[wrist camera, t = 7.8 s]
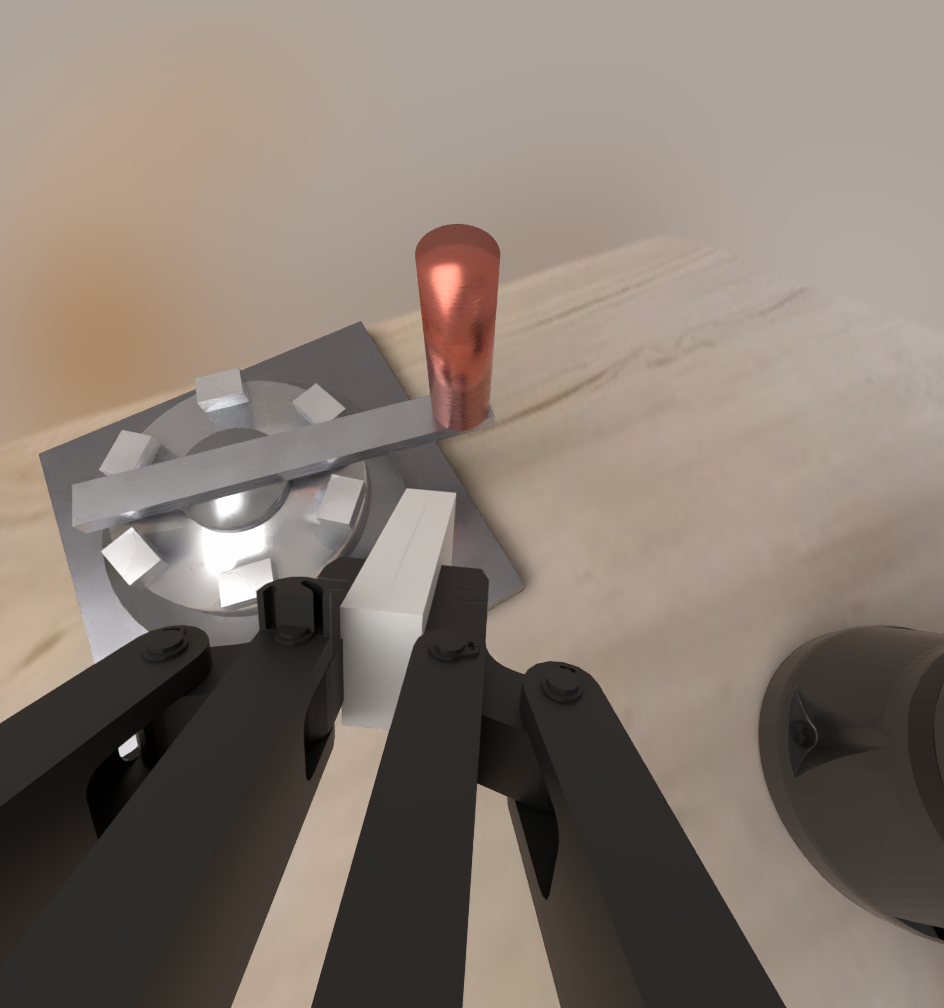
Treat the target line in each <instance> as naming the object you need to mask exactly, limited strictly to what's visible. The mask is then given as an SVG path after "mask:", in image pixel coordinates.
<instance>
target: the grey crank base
mask: <svg viewBox="0 0 944 1008" xmlns="http://www.w3.org/2000/svg"><path fill="white" fill-rule="evenodd" d="M241 372H242V373H243V375H244V377H245V378H246V381H272V382H279V383H285V384H289V385H293V386H297V387H300V388H302V389H305V390H308V389H309V388H311V387H312V386H313V385H314V384H316V383H317V384H318V385H319V386H320V387H321V388H322V389H324V390H325V391H326V392H327V393H328V394H329V395H331V396H332V397H333V398H334V399H335V400H336V401H337V402H339V403H340V404H341V405H342V406H343V407H344V408H346V411H347V413H348V416H349V415H353V414H357V413H361V412H365V411H369V410H373V409H377V408H381V407H385V406H389V405H393V404H397V403H401V402H405V401H409V400H410V399H409V398H408V396H407V395H406V393H405V391H404V390H403V388H402V387H401V385H400V383H399V382H398V380H397V378H396V377H395V375H394V374H393V372H392V370H391V369H390V367H389V366H388V364H387V362H386V361H385V359H384V358H383V356H382V354H381V353H380V351H379V349H378V348H377V346H376V345H375V343H374V341H373V340H372V338H371V337H370V335H369V333H368V332H367V330H366V329H365V327H364V325H363V324H362V322H361V321H360V322H358V323H355V324H353V325H350V326H348V327H346V328H343V329H341V330H338V331H336V332H333V333H331V334H329V335H326V336H324V337H321V338H319V339H316V340H314V341H312V342H309V343H307V344H304V345H302V346H299V347H297V348H295V349H292V350H290V351H287V352H285V353H282V354H280V355H278V356H275V357H273V358H270V359H268V360H265V361H263V362H261V363H258V364H256V365H253V366H251V367H249V368H246V369H244V370H241ZM193 395H196V389H195V390H193V391H190V392H188V393H185V394H183V395H181V396H178V397H176V398H173V399H171V400H168V401H166V402H164V403H161V404H159V405H156V406H154V407H152V408H149V409H147V410H144V411H142V412H139V413H137V414H135V415H132V416H130V417H127V418H125V419H122V420H120V421H118V422H115V423H113V424H110V425H108V426H105V427H103V428H101V429H98V430H96V431H93V432H91V433H88V434H86V435H84V436H81V437H79V438H76V439H74V440H71V441H69V442H67V443H64V444H62V445H59V446H57V447H55V448H52V449H50V450H47V451H45V452H42V453H40V454H39V457H40V461H41V465H42V468H43V472H44V476H45V480H46V483H47V487H48V491H49V495H50V498H51V502H52V506H53V510H54V513H55V517H56V521H57V524H58V528H59V532H60V536H61V539H62V543H63V547H64V551H65V554H66V558H67V562H68V566H69V569H70V573H71V577H72V581H73V584H74V588H75V592H76V596H77V599H78V603H79V607H80V611H81V614H82V618H83V622H84V625H85V629H86V633H87V637H88V640H89V644H90V648H91V652H92V655H93V659H94V663H97V662H99V661H100V660H102V659H103V658H105V657H107V656H108V655H110V654H111V653H113V652H115V651H116V650H118V649H119V648H121V647H122V646H124V645H126V644H127V643H129V642H130V641H132V640H134V639H135V638H137V637H139V636H141V635H143V634H145V633H147V632H149V631H152V630H156V629H159V628H163V627H166V626H175V625H187V626H194V627H198V628H199V629H201V630H203V631H205V632H206V634H207V636H208V638H209V643H210V647H214V646H224V645H233V644H241V643H247V642H251V640H252V639H253V638H254V637H255V635H256V634H257V633H258V631H259V618H258V615H255V616H246V617H220V616H214V615H208V614H204V613H201V612H198V611H194V610H191V609H189V608H186V607H184V606H182V605H179V604H177V603H174V602H172V601H170V600H167V599H165V598H163V597H161V596H159V595H157V594H155V593H153V592H152V591H150V590H149V589H147V588H146V587H145V588H144V589H142V590H139V589H137V588H134V587H132V586H129V584H128V583H127V582H126V581H125V580H124V578H123V577H122V576H121V575H120V574H119V572H118V571H117V570H116V569H115V568H114V566H113V565H112V564H111V563H110V562H109V561H108V559H107V558H106V557H105V556H104V555H103V553H102V552H101V551H102V550H103V549H104V548H106V547H107V546H108V545H110V544H111V543H112V539H111V535H110V531H109V528H105V529H101V530H97V531H93V532H90V533H84V532H82V531H80V530H78V529H76V528H74V527H72V485H73V484H77V483H81V482H85V481H89V480H93V479H97V478H101V477H105V476H107V475H105V474H104V473H102V472H101V471H100V470H99V469H100V467H101V465H102V463H103V462H104V460H105V458H106V457H107V455H108V453H109V451H110V450H111V448H112V446H113V445H114V443H115V441H116V439H117V438H118V436H119V434H120V433H121V431H122V430H125V431H130V432H135V433H140V434H142V432H144V431H145V430H146V429H147V428H148V427H149V426H150V425H151V424H152V423H153V422H154V421H155V420H156V419H157V418H159V417H160V416H161V415H162V414H164V413H165V412H166V411H168V410H169V409H171V408H172V407H174V406H175V405H177V404H178V403H180V402H182V401H184V400H186V399H188V398H190V397H192V396H193ZM365 461H366V464H367V467H368V470H369V475H370V480H371V505H370V512H369V516H368V520H367V524H366V527H365V529H364V532H363V534H362V537H361V539H360V541H359V543H358V544H357V546H356V548H355V550H354V551H353V553H352V554H351V556H350V557H351V558H361V559H367V558H368V556H369V554H370V553H371V551H372V549H373V547H374V546H375V544H376V542H377V540H378V538H379V537H380V535H381V533H382V531H383V529H384V528H385V526H386V524H387V522H388V521H389V519H390V517H391V515H392V513H393V512H394V510H395V508H396V506H397V505H398V503H399V501H400V499H401V497H402V496H403V494H404V492H405V490H406V489H407V488H409V489H419V490H430V491H441V492H451V493H456V504H455V518H454V533H453V547H452V561H451V566H458V567H468V568H478V569H482V570H483V572H484V573H485V575H486V576H487V577H488V579H489V592H488V607H487V610H489V609H491V608H493V607H494V606H496V605H498V604H500V603H501V602H503V601H505V600H507V599H508V598H510V597H512V596H514V595H515V594H517V593H519V592H521V591H522V590H523V587H524V583H523V581H522V580H521V578H520V577H519V575H518V573H517V572H516V570H515V569H514V567H513V565H512V564H511V562H510V561H509V559H508V557H507V556H506V554H505V552H504V551H503V549H502V548H501V546H500V544H499V543H498V541H497V540H496V538H495V536H494V535H493V533H492V532H491V530H490V528H489V527H488V525H487V523H486V522H485V520H484V519H483V517H482V515H481V514H480V512H479V511H478V509H477V507H476V506H475V504H474V503H473V501H472V499H471V498H470V496H469V494H468V493H467V491H466V490H465V488H464V486H463V485H462V483H461V482H460V480H459V478H458V477H457V475H456V474H455V472H454V470H453V469H452V467H451V465H450V464H449V462H448V461H447V459H446V457H445V456H444V454H443V453H442V451H441V449H440V448H439V446H438V445H437V443H436V442H432V443H428V444H424V445H420V446H417V447H413V448H409V449H405V450H401V451H398V452H394V453H390V454H386V455H382V456H379V457H375V458H371V459H367V460H365ZM137 746H138V745H137V740H136V735H134V736H133V737H131V738H130V739H129V740H128V741H126V742H125V743H124V744H123V745H122V746H120V747H119V748H118V749H119V754H120V756H121V757H123V756H125V755H126V754H128V753H130V752H131V751H133V750H134V749H135V748H136V747H137Z"/></svg>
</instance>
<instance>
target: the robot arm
mask: <svg viewBox="0 0 944 1008" xmlns="http://www.w3.org/2000/svg"><path fill="white" fill-rule="evenodd" d="M455 504H456V493H451V492H441V491H430V490H419V489H409V488H407V489H406V490H405V492H404V494H403V496H402V497H401V499H400V501H399V503H398V505H397V506H396V508H395V510H394V512H393V513H392V515H391V517H390V519H389V521H388V522H387V524H386V526H385V528H384V529H383V531H382V533H381V535H380V537H379V538H378V540H377V542H376V544H375V546H374V547H373V549H372V551H371V553H370V554H369V556H368V558H367V559H361V558H351V557H339V558H337V559H336V560H334V561H332V562H330V563H329V564H327V565H326V566H325V567H324V568H323V570H322V571H321V573H320V574H319V575H318V578H317V579H315V578H310V577H287V578H282V579H277V580H274V581H272V582H269V583H267V584H265V585H263V586H262V587H261V588H259V589H258V590H257V591H256V595H257V607H258V618H259V631H258V633H257V634H256V635H255V637H254V638H253V639H252V640H251V642H247V643H241V644H233V645H224V646H214V647H210V643H209V638H208V636H207V634H206V632H205V631H203V630H201V629H199V628H198V627H194V626H187V625H175V626H166V627H163V628H159V629H156V630H152V631H149V632H147V633H145V634H143V635H141V636H139V637H137V638H135V639H134V640H132V641H130V642H129V643H127V644H126V645H124V646H122V647H121V648H119V649H118V650H116V651H115V652H113V653H111V654H110V655H108V656H107V657H105V658H103V659H102V660H100V661H99V662H97V663H95V664H94V665H92V666H91V667H89V668H88V669H86V670H84V671H83V672H81V673H80V674H78V675H76V676H75V677H73V678H72V679H70V680H68V681H67V682H65V683H64V684H62V685H60V686H59V687H57V688H56V689H54V690H53V691H51V692H49V693H48V694H46V695H45V696H43V697H41V698H40V699H38V700H37V701H35V702H33V703H32V704H30V705H29V706H27V707H25V708H24V709H22V710H21V711H19V712H18V713H16V714H14V715H13V716H11V717H10V718H8V719H6V720H5V721H3V722H2V723H0V1008H231V1006H232V1003H233V1001H234V998H235V996H236V993H237V991H238V988H239V985H240V983H241V980H242V978H243V975H244V973H245V970H246V968H247V965H248V963H249V960H250V957H251V955H252V952H253V950H254V947H255V945H256V942H257V940H258V937H259V935H260V932H261V929H262V927H263V924H264V922H265V919H266V917H267V914H268V912H269V909H270V907H271V904H272V901H273V899H274V896H275V894H276V891H277V889H278V886H279V884H280V881H281V879H282V876H283V874H284V871H285V868H286V866H287V863H288V861H289V858H290V856H291V853H292V851H293V848H294V846H295V843H296V840H297V838H298V835H299V833H300V830H301V828H302V825H303V823H304V820H305V818H306V815H307V812H308V810H309V807H310V805H311V802H312V800H313V797H314V795H315V792H316V790H317V787H318V784H319V782H320V779H321V777H322V774H323V772H324V769H325V767H326V764H327V762H328V759H329V757H330V754H331V751H332V749H333V746H334V739H335V726H334V722H335V720H336V717H337V715H338V713H339V710H340V708H341V705H342V725H348V726H358V727H367V728H376V729H385V730H389V734H388V737H387V741H386V744H385V748H384V751H383V755H382V758H381V762H380V765H379V769H378V773H377V776H376V780H375V783H374V787H373V790H372V794H371V797H370V801H369V804H368V808H367V812H366V815H365V819H364V822H363V826H362V829H361V833H360V836H359V840H358V843H357V847H356V850H355V854H354V858H353V861H352V865H351V868H350V872H349V875H348V879H347V882H346V886H345V889H344V893H343V897H342V900H341V904H340V907H339V911H338V914H337V918H336V921H335V925H334V928H333V932H332V935H331V939H330V943H329V946H328V950H327V953H326V957H325V960H324V964H323V967H322V971H321V974H320V978H319V982H318V985H317V989H316V992H315V996H314V999H313V1003H312V1006H311V1008H462V1007H463V991H464V976H465V961H466V945H467V930H468V915H469V899H470V884H471V869H472V853H473V838H474V823H475V807H476V792H477V783H478V784H480V785H482V786H485V787H487V788H489V789H491V790H494V791H496V792H498V793H501V794H503V795H505V796H507V800H508V807H509V811H510V815H511V819H512V823H513V827H514V830H515V834H516V838H517V842H518V846H519V849H520V853H521V857H522V861H523V865H524V869H525V872H526V876H527V880H528V884H529V888H530V891H531V895H532V899H533V903H534V907H535V911H536V914H537V918H538V922H539V926H540V930H541V934H542V937H543V941H544V945H545V949H546V953H547V956H548V960H549V964H550V968H551V972H552V976H553V979H554V983H555V987H556V991H557V995H558V998H559V1002H560V1006H561V1008H786V1006H785V1005H784V1003H783V1001H782V999H781V998H780V996H779V994H778V992H777V991H776V989H775V987H774V986H773V984H772V982H771V980H770V979H769V977H768V975H767V974H766V972H765V970H764V968H763V967H762V965H761V963H760V961H759V960H758V958H757V956H756V955H755V953H754V951H753V949H752V948H751V946H750V944H749V943H748V941H747V939H746V937H745V936H744V934H743V932H742V930H741V929H740V927H739V925H738V924H737V922H736V920H735V918H734V917H733V915H732V913H731V911H730V910H729V908H728V906H727V905H726V903H725V901H724V899H723V898H722V896H721V894H720V893H719V891H718V889H717V887H716V886H715V884H714V882H713V880H712V879H711V877H710V875H709V874H708V872H707V870H706V868H705V867H704V865H703V863H702V862H701V860H700V858H699V856H698V855H697V853H696V851H695V849H694V848H693V846H692V844H691V843H690V841H689V839H688V837H687V836H686V834H685V832H684V830H683V829H682V827H681V825H680V824H679V822H678V820H677V818H676V817H675V815H674V813H673V812H672V810H671V808H670V806H669V805H668V803H667V801H666V799H665V798H664V796H663V794H662V793H661V791H660V789H659V787H658V786H657V784H656V782H655V781H654V779H653V777H652V775H651V774H650V772H649V770H648V768H647V767H646V765H645V763H644V762H643V760H642V758H641V756H640V755H639V753H638V751H637V749H636V748H635V746H634V744H633V743H632V741H631V739H630V737H629V736H628V734H627V732H626V731H625V729H624V727H623V725H622V724H621V722H620V720H619V718H618V717H617V715H616V713H615V712H614V710H613V708H612V706H611V705H610V703H609V701H608V700H607V698H606V696H605V694H604V693H603V691H602V689H601V687H600V686H599V684H598V683H597V682H596V681H595V680H594V678H593V677H592V676H591V675H590V674H588V673H587V672H585V671H584V670H582V669H580V668H579V667H576V666H573V665H570V664H567V663H564V662H552V661H549V662H544V663H539V664H536V665H534V666H533V667H531V668H530V669H528V670H527V672H526V674H522V673H519V672H516V671H513V670H511V669H509V668H506V667H504V666H503V665H501V664H500V663H498V662H497V661H495V660H494V659H493V657H492V656H491V655H490V654H489V652H488V650H487V648H486V643H485V639H486V623H487V607H488V592H489V579H488V577H487V576H486V575H485V573H484V572H483V570H482V569H478V568H468V567H458V566H451V561H452V547H453V533H454V518H455ZM134 735H136V740H137V745H138V746H137V747H136V748H135V749H134V750H133V751H131V752H130V753H128V754H126V755H125V756H123V757H121V756H120V754H119V749H118V748H119V747H120V746H122V745H123V744H124V743H125V742H126V741H128V740H129V739H130V738H131V737H133V736H134ZM759 744H760V755H761V761H762V767H763V771H764V775H765V779H766V782H767V786H768V789H769V792H770V795H771V797H772V800H773V802H774V805H775V807H776V809H777V812H778V814H779V816H780V818H781V820H782V822H783V824H784V825H785V827H786V829H787V831H788V832H789V834H790V836H791V837H792V839H793V840H794V842H795V843H796V845H797V846H798V847H799V849H800V850H801V852H802V853H803V854H804V856H805V857H806V858H807V859H808V861H809V862H810V863H811V864H812V865H813V867H814V868H815V869H816V870H817V871H818V872H819V873H820V874H821V875H822V876H823V877H824V878H825V879H826V880H827V881H828V882H829V883H830V884H831V885H832V886H833V887H835V888H836V889H837V890H838V891H839V892H840V893H842V894H843V895H844V896H846V897H847V898H848V899H850V900H851V901H852V902H854V903H855V904H857V905H858V906H860V907H861V908H863V909H864V910H866V911H868V912H870V913H871V914H873V915H875V916H877V917H879V918H881V919H883V920H885V921H887V922H890V923H892V924H894V925H896V926H898V927H900V928H903V929H905V930H907V931H909V932H911V933H913V934H916V935H918V936H921V937H923V938H926V939H929V940H932V941H935V942H938V943H942V944H944V634H938V633H931V632H924V631H917V630H913V629H909V628H904V627H896V626H864V627H856V628H851V629H847V630H843V631H839V632H835V633H831V634H827V635H824V636H821V637H818V638H816V639H813V640H811V641H809V642H807V643H806V644H804V645H802V646H801V647H799V648H798V649H797V650H795V651H794V652H793V653H792V654H791V655H790V656H789V657H787V659H786V660H785V661H784V662H783V663H782V664H781V666H780V667H779V668H778V670H777V671H776V673H775V674H774V676H773V678H772V680H771V682H770V684H769V686H768V689H767V691H766V694H765V697H764V701H763V705H762V710H761V716H760V726H759Z"/></svg>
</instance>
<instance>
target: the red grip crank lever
mask: <svg viewBox="0 0 944 1008" xmlns="http://www.w3.org/2000/svg"><path fill="white" fill-rule="evenodd" d="M415 258H416V267H417V277H418V286H419V294H420V305H421V314H422V323H423V332H424V341H425V351H426V360H427V369H428V378H429V387H430V395H429V396H425V397H421V398H417V399H413V400H409V401H405V402H401V403H397V404H393V405H389V406H385V407H381V408H377V409H373V410H369V411H365V412H361V413H357V414H353V415H349V416H348V413H347V411H346V408H344V407H343V406H342V405H341V404H340V403H339V402H337V401H336V400H335V399H334V398H333V397H332V396H331V395H329V394H328V393H327V392H326V391H325V390H324V389H322V388H321V387H320V386H319V385H318V384H317V383H316V384H314V385H313V386H312V387H311V388H309V389H308V390H305V389H302V388H300V387H297V386H293V385H289V384H285V383H279V382H272V381H246V378H245V377H244V375H243V373H242V372H241V370H240V369H239V368H237V369H233V370H228V371H224V372H220V373H215V374H211V375H207V376H202V377H199V378H195V387H196V395H193V396H192V397H190V398H188V399H186V400H184V401H182V402H180V403H178V404H177V405H175V406H174V407H172V408H171V409H169V410H168V411H166V412H165V413H164V414H162V415H161V416H160V417H159V418H157V419H156V420H155V421H154V422H153V423H152V424H151V425H150V426H149V427H148V428H147V429H146V430H145V431H144V432H142V434H140V433H135V432H130V431H125V430H122V431H121V433H120V434H119V436H118V438H117V439H116V441H115V443H114V445H113V446H112V448H111V450H110V451H109V453H108V455H107V457H106V458H105V460H104V462H103V463H102V465H101V467H100V469H99V470H100V471H101V472H102V473H104V474H105V475H107V476H105V477H101V478H97V479H93V480H89V481H85V482H81V483H77V484H73V485H72V527H74V528H76V529H78V530H80V531H82V532H84V533H90V532H93V531H97V530H101V529H105V528H109V531H110V535H111V539H112V543H111V544H110V545H108V546H107V547H106V548H104V549H103V550H102V551H101V552H102V553H103V555H104V556H105V557H106V558H107V559H108V561H109V562H110V563H111V564H112V565H113V566H114V568H115V569H116V570H117V571H118V572H119V574H120V575H121V576H122V577H123V578H124V580H125V581H126V582H127V583H128V584H129V586H132V587H134V588H137V589H139V590H142V589H144V588H145V587H146V588H147V589H149V590H150V591H152V592H153V593H155V594H157V595H159V596H161V597H163V598H165V599H167V600H170V601H172V602H174V603H177V604H179V605H182V606H184V607H186V608H189V609H191V610H194V611H198V612H201V613H204V614H208V615H214V616H220V617H246V616H255V615H258V607H257V595H256V591H257V590H258V589H259V588H261V587H262V586H263V585H265V584H267V583H269V582H272V581H274V580H277V579H282V578H287V577H310V578H315V579H317V578H318V575H319V574H320V573H321V571H322V570H323V568H324V567H325V566H326V565H327V564H329V563H330V562H332V561H334V560H336V559H337V558H339V557H350V556H351V554H352V553H353V551H354V550H355V548H356V546H357V544H358V543H359V541H360V539H361V537H362V534H363V532H364V529H365V527H366V524H367V520H368V516H369V512H370V505H371V480H370V475H369V470H368V467H367V464H366V461H365V460H367V459H371V458H375V457H379V456H382V455H386V454H390V453H394V452H398V451H401V450H405V449H409V448H413V447H417V446H420V445H424V444H428V443H432V442H436V441H439V440H443V439H447V438H451V437H455V436H458V435H462V434H466V433H470V432H474V431H477V430H481V429H485V428H489V427H493V426H494V417H495V416H494V414H493V411H492V409H491V406H490V404H489V403H490V389H491V376H492V362H493V348H494V334H495V320H496V306H497V292H498V278H499V264H500V250H499V247H498V244H497V243H496V241H495V240H494V238H493V237H492V236H491V235H489V234H488V233H487V232H485V231H483V230H482V229H479V228H477V227H474V226H470V225H463V224H452V225H445V226H442V227H438V228H436V229H434V230H432V231H430V232H429V233H427V234H426V235H425V236H424V237H423V238H422V239H421V240H420V241H419V243H418V245H417V247H416V252H415Z"/></svg>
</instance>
